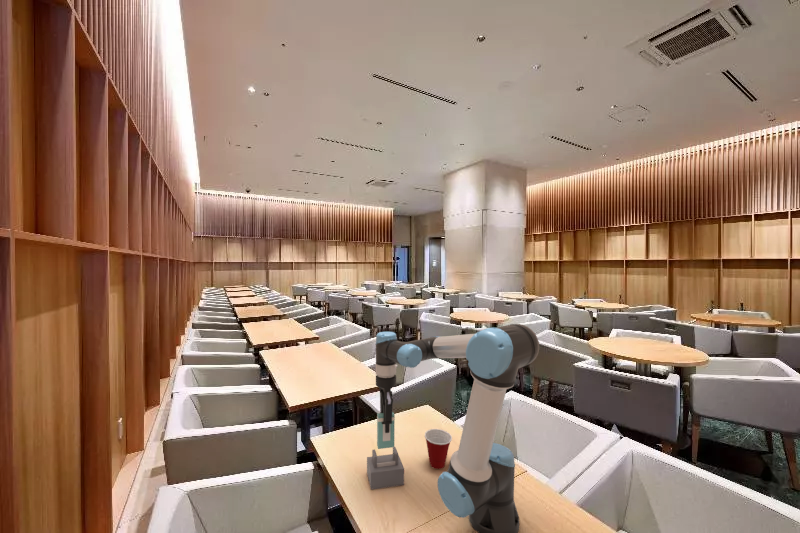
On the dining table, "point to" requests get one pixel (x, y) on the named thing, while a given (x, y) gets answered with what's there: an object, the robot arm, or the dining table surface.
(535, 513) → the dining table surface
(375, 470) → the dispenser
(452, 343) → the robot arm
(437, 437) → the plastic cup
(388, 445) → the teal flat box
